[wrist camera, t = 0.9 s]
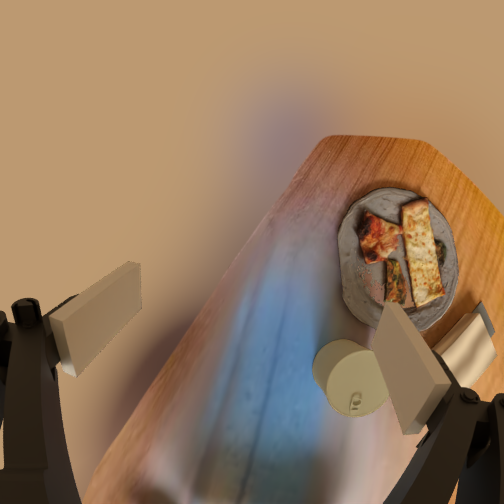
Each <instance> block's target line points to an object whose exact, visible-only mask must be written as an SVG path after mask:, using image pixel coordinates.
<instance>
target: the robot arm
mask: <svg viewBox="0 0 504 504" xmlns="http://www.w3.org/2000/svg"><path fill="white" fill-rule="evenodd" d="M11 308H12V312H13V316H14V320H15V323H10V322H8V321H7V318H6V314H5V312H3V311H0V429H1V425H2V421H4V422H3V448H4V468H3V469H2V470H0V504H82V503H81V500H80V497H79V494H78V490H77V487H76V483H75V480H74V476H73V472H72V468H71V463H70V459H69V455H68V450H67V445H66V439H65V434H64V428H63V421H62V414H61V407H60V398H59V387H58V375H57V369H56V364H58V363H59V362H60V361H61V365H62V368H63V370H64V372H66V373H68V374H70V375H72V376H74V377H78V376H79V375H80V374H81V373H82V371H83V370H84V369H85V368H86V367H87V366H88V365H89V364H90V363H91V362H92V360H93V359H94V358H95V357H96V356H97V355H98V354H99V353H100V352H101V351H102V350H103V349H104V348H105V347H106V345H107V344H108V343H109V342H110V341H111V340H112V339H113V338H114V337H115V336H116V335H117V334H118V333H119V332H120V330H121V329H122V328H123V327H124V326H125V325H126V324H127V323H128V322H129V321H130V320H131V319H132V318H133V317H134V316H135V315H136V314H137V313H138V312H139V311H140V310H141V309H142V302H141V275H140V263H135V262H130V261H128V262H127V263H125V264H123V265H122V266H120V267H119V268H117V269H116V270H115V271H113V272H111V273H110V274H108V275H107V276H105V277H104V278H102V279H101V280H99V281H98V282H96V283H95V284H93V285H92V286H91V287H89V288H88V289H86V290H85V291H83V292H82V293H80V294H77V295H74V296H71V297H69V298H68V299H66V300H65V301H64V302H63V303H61V304H59V305H58V307H55V308H54V309H52V310H51V311H50V312H48V313H47V314H45V315H44V316H42V315H41V310H40V306H39V302H38V300H36V299H33V298H23V299H20V300H18V301H16V302H14V303H13V304H12V306H11ZM371 347H372V349H373V352H374V354H375V357H376V359H377V362H378V364H379V367H380V370H381V372H382V375H383V378H384V380H385V383H386V386H387V389H388V391H389V394H390V397H391V400H392V403H393V406H394V408H395V411H396V414H397V417H398V420H399V423H400V426H401V429H402V433H403V435H409V434H419V432H420V431H421V430H422V428H423V427H424V426H425V424H426V425H427V427H428V432H427V433H426V434H425V436H424V437H423V438H422V440H421V441H420V442H419V444H418V445H417V446H416V447H417V448H418V449H417V451H416V453H415V454H414V456H413V458H412V460H411V461H410V463H409V465H408V466H407V468H406V470H405V471H404V473H403V474H402V476H401V478H400V479H399V481H398V482H397V484H396V485H395V487H394V488H393V490H392V491H391V493H390V494H389V496H388V497H387V498H386V500H385V501H384V503H383V504H448V502H449V500H450V498H451V496H452V493H453V491H454V489H455V486H456V484H457V481H458V479H459V481H458V489H457V495H456V501H455V504H504V393H499V394H496V396H495V397H494V398H493V400H492V401H491V402H485V401H480V397H479V395H478V394H477V393H476V392H475V391H473V390H472V389H470V388H466V387H461V386H460V385H459V383H458V381H457V380H456V378H455V377H454V375H453V373H452V372H451V370H449V367H448V366H447V365H446V363H445V361H444V360H443V358H442V357H441V356H440V355H439V354H438V353H437V352H436V351H434V350H430V348H429V347H428V345H427V344H426V342H425V341H424V339H423V338H422V336H421V335H420V333H419V332H418V330H417V329H416V327H415V326H414V324H413V323H412V322H411V320H410V319H409V317H408V316H407V314H406V313H405V312H404V310H403V309H402V307H401V306H400V305H399V303H394V302H386V303H385V306H384V309H383V312H382V315H381V318H380V321H379V324H378V327H377V330H376V333H375V335H374V338H373V341H372V344H371ZM3 418H4V419H3ZM489 444H490V445H489Z"/></svg>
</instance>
